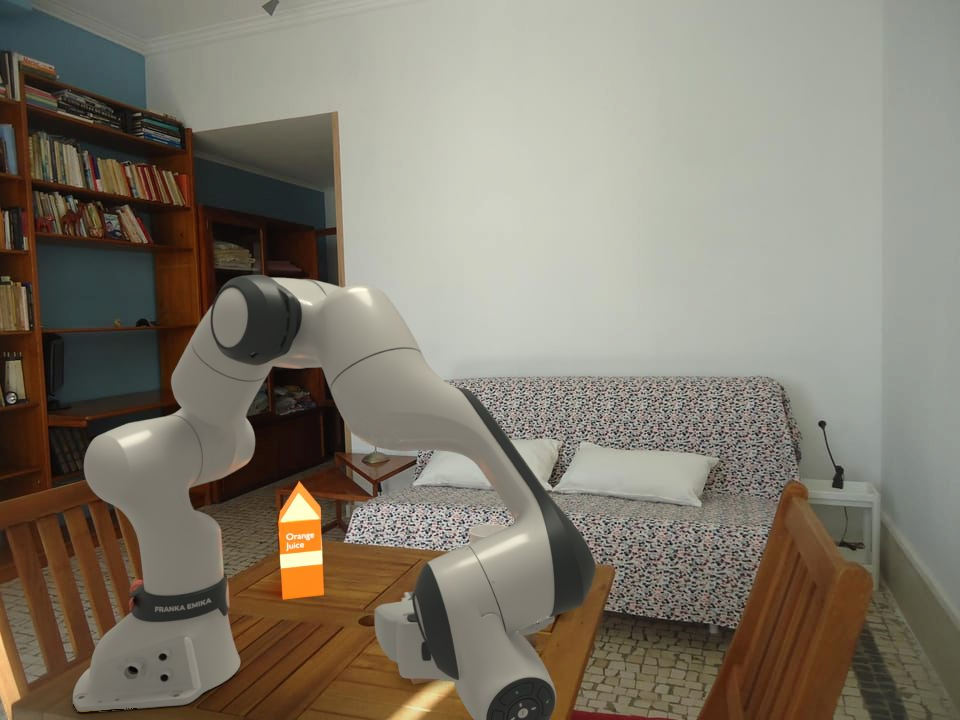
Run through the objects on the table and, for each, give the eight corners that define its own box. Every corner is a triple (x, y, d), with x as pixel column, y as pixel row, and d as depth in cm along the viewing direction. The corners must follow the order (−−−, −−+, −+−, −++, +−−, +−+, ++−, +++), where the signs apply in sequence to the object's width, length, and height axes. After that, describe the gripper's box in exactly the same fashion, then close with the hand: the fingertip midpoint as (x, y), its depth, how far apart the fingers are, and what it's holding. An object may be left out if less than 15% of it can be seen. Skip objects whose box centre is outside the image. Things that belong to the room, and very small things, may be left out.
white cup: (486, 569, 147) (484, 521, 146) (519, 577, 142) (518, 527, 141) (462, 582, 140) (461, 532, 139) (496, 591, 136) (494, 539, 135)
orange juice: (281, 599, 135) (276, 494, 133) (283, 581, 143) (278, 482, 141) (324, 594, 136) (319, 490, 135) (324, 577, 145) (319, 479, 143)
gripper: (559, 596, 84) (519, 557, 98) (384, 625, 79) (366, 579, 92) (560, 649, 85) (520, 603, 98) (387, 681, 79) (369, 627, 92)
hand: (445, 591), depth 95 cm, fingers open, 8 cm apart
